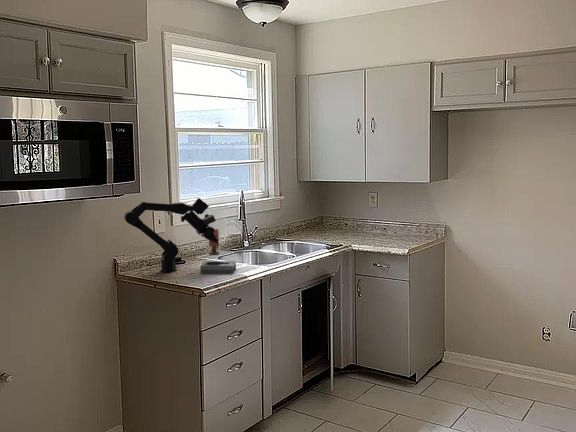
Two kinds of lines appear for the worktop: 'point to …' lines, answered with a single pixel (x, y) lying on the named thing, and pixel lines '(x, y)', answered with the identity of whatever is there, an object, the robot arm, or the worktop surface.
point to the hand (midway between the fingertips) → (216, 241)
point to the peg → (214, 243)
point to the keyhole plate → (217, 267)
